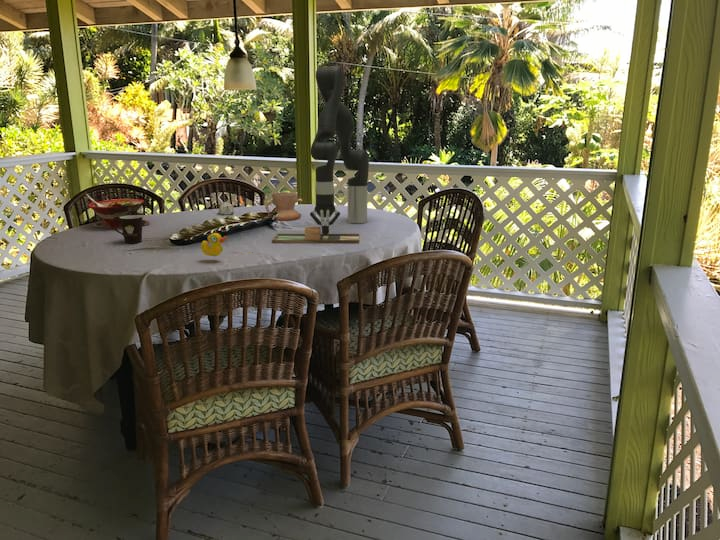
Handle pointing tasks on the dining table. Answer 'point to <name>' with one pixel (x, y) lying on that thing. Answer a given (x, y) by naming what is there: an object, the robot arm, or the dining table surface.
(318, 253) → the dining table surface
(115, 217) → the stew
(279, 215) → the ceramic jug
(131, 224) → the coffee mug
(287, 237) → the flat tray
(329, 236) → the trap pads
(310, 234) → the terracotta block
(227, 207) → the grey rounded lump
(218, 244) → the duckling
